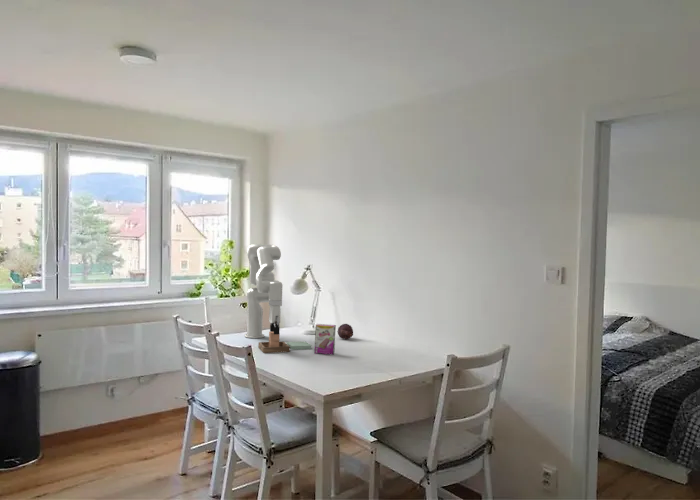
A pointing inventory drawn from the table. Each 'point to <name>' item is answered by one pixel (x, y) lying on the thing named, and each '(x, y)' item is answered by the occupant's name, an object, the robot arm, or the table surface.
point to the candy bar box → (325, 339)
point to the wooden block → (273, 339)
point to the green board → (299, 345)
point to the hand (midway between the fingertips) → (274, 332)
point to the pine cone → (345, 331)
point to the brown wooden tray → (266, 349)
